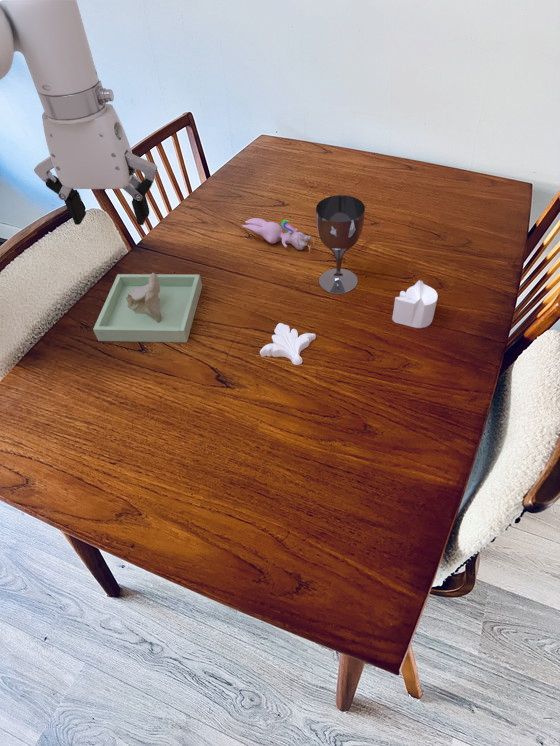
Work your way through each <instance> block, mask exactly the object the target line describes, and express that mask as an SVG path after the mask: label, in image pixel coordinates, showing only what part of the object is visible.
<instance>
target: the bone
mask: <svg viewBox="0 0 560 746" xmlns="http://www.w3.org/2000/svg"><path fill="white" fill-rule="evenodd" d="M150 274H151V276H150V277H149V278H148V279H149V281H148V284H147V285H145V286H143V287H142V288H139V287H135V288H133V290H131V291H129V292H128V294H127V295H128V296H127V297H126V300H127V302H128V307H129V308H130V309H132V310H133V311H135V314H147V315H149V316H150V317H152V318H153V319H154V320H155V321H156V322H157V323H159V322H160V321H161V312H160V306H159V301H160V299H158V293H159V292H160V283H159V279H158V276H157V275H156V274H157V273H155V272H153V271H152V272H151V273H150Z"/></svg>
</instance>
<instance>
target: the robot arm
mask: <svg viewBox="0 0 560 746" xmlns="http://www.w3.org/2000/svg"><path fill="white" fill-rule="evenodd" d="M15 52H19V53H20V54H22V56H23V57H24V60H25V63H26V65H27V69H28V72H29V73H30V76H31V80H32V82H33V85H34V87H35V90H36V92H37V95H38V98H39V100H40V104H41V106H42V108H43V112H42V114H41V118H42V119H41V120H42V126H43V132H44V137H45V141H46V146H47V149H48V153H49V156H48V157H47V158H45V159H44V160H42V161H41V162H39V163H38V164H37V165H36V166H35V167H34V169H33V171H34V174H36V175H37V176H38V178H39V179H41V181H42V182H44V183H45V186H46V187H47V188H48V189H49V190H51V191H52V192H54V193H55V194H56V195H57V196H58V198H59V200H61V201H64V204H65V206H66V209H67V211H68V214H69V216H70V217H71V218H72V220H73V223H74V225H77V226H78V225H81V224H82V222H83V221H84V218H85V217H86V215H87V211H86V208H85V206H84V203H83V199H82V197H81V195H80V192H79V191H78V190H120V189H123V191H125V192H126V193H127V194H128V195H129V196H131V197H132V200H131V205H132V209H133V213H134V216H135V219H136V223H137V225H139V226H144V224H145V222H146V219H147V218H148V217H150V207H149V203H148V200H147V196H146V194H147V193H148V192H149V191H150V189H151V188H152V186H153V184H154V181H155V178H156V174H157V171H158V165H157V164H155V163H153V162H151V161H149V160H147V159H144V157H143V158H142V157H140V156H138V155H136V154H133V151H132V148H131V145H130V142H129V140H128V137H127V134H126V131H125V128H124V126H123V124H122V121H121V120H120V117H119V115H118V113H117V111H116V109H115V107H114V106H113V104H111V103H109V102H114V101H115V95H114V91H113V89H109V88H108V89H107V88H105V87H103V85H102V81H101V80H100V79H99V75H98V72H97V67H96V65H95V61H94V57H93V54H92V51H91V48H90V43H89V40H88V37H87V33H86V30H85V25H84V23H83V19H82V14H81V10H80V8H79V4H78V1H77V0H0V81H1V80H2V79H4V78H5V77H6V76H7V75H8V74H9V72H10V70H11V69H12V65H13V63H14V62H13V61H14V55H15ZM52 169H54V171H55V174H56V175H54V174H53V172H52V171H51V170H52ZM137 171H139V172H142V173H143V174H144V177H143V180H141V179H140V178H139V177H138V176H137V175H135V174H136V173H137Z"/></svg>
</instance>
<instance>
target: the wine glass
mask: <svg viewBox="0 0 560 746" xmlns="http://www.w3.org/2000/svg"><path fill="white" fill-rule="evenodd" d="M365 218H366V206H365V204H364V202H363V201H362V200H361V199H358V198H357V197H355V196H351V195H345V194H339V195H338V194H337V195H332V196H328V197H325V198H323V199H321V200H320V201H319V202H318V203H317V204H316V207H315V221H316V224H315V225H316V230H317V233H318V234H317V235H318V236H319V239H320V242H321V243H322V244H323V245H324V246H325V247H326V248H327V249H328V250H330V251H331V252H332V253H333V255H334V257H335V266H336V268H332V269H328V270H326V271H324V272H323V273H322V274H321V275H320V276H319V279H318V285H319V286H320V288H321V289H323V290H324V291H326V292H328V293H330V294H336V295H337V294H338V295H339V294H346V293H349V292H352V291H353V290H354V289H355V288H356V287H357V285H358V283H359V281H358V277H357V275H356V274H355V273H354V272H353V271H351V270H348V269H345V268H342V262H343V258H344V255H345V253H346V252H348V251H349V250H350V249H351V248H353V247H354V246H355V245H356V244H357V243H358V241H359V239H360V237H361V235H362V232H363V228H364V225H365Z"/></svg>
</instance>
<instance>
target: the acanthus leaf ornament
mask: <svg viewBox="0 0 560 746" xmlns="http://www.w3.org/2000/svg"><path fill="white" fill-rule="evenodd" d="M273 331H274V334H272V335H271V341H272V343H267V344H264V346H263V347H262V348H261V349H260V350H259V355H260V357H262V358H264V357H269V358H270V357H273V358H278V357H283V358H287V359H289V360H290V361H291V364H293V365H294V366H301V365H302V363H303V362H304V361H303V358H302V356H301V355H300V354H301V352H302V351H303V350H305V349H306V348H308V347H309V346H310V344H311V343H312V341H314V340H315V339H317V334H316V333H310V332H306V333H303V334H301V335H299V332H298V330H297V329H296V328H292V329H291V328H290V326H289V325H288V324H285V323H283V322H279V323H278V324H276V327H275V328H274V330H273Z"/></svg>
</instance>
